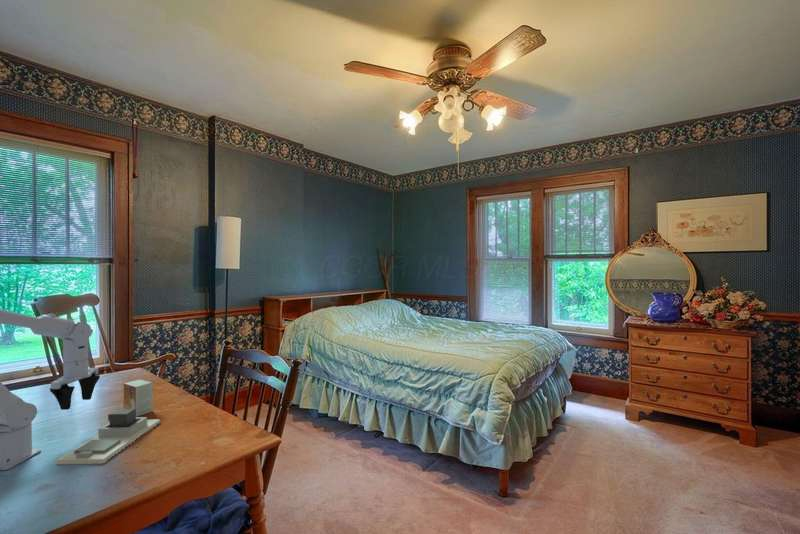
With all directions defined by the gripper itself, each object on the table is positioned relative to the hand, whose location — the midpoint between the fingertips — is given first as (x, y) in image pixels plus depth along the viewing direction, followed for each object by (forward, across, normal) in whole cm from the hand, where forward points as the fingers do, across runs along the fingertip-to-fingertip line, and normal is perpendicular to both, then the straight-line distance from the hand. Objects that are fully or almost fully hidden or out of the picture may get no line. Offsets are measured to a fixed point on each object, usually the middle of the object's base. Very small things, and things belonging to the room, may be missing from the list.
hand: (76, 404), depth 112 cm
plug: (+8, -1, -15) cm, 17 cm away
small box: (+10, +16, -8) cm, 20 cm away
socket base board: (+9, -5, -15) cm, 18 cm away
